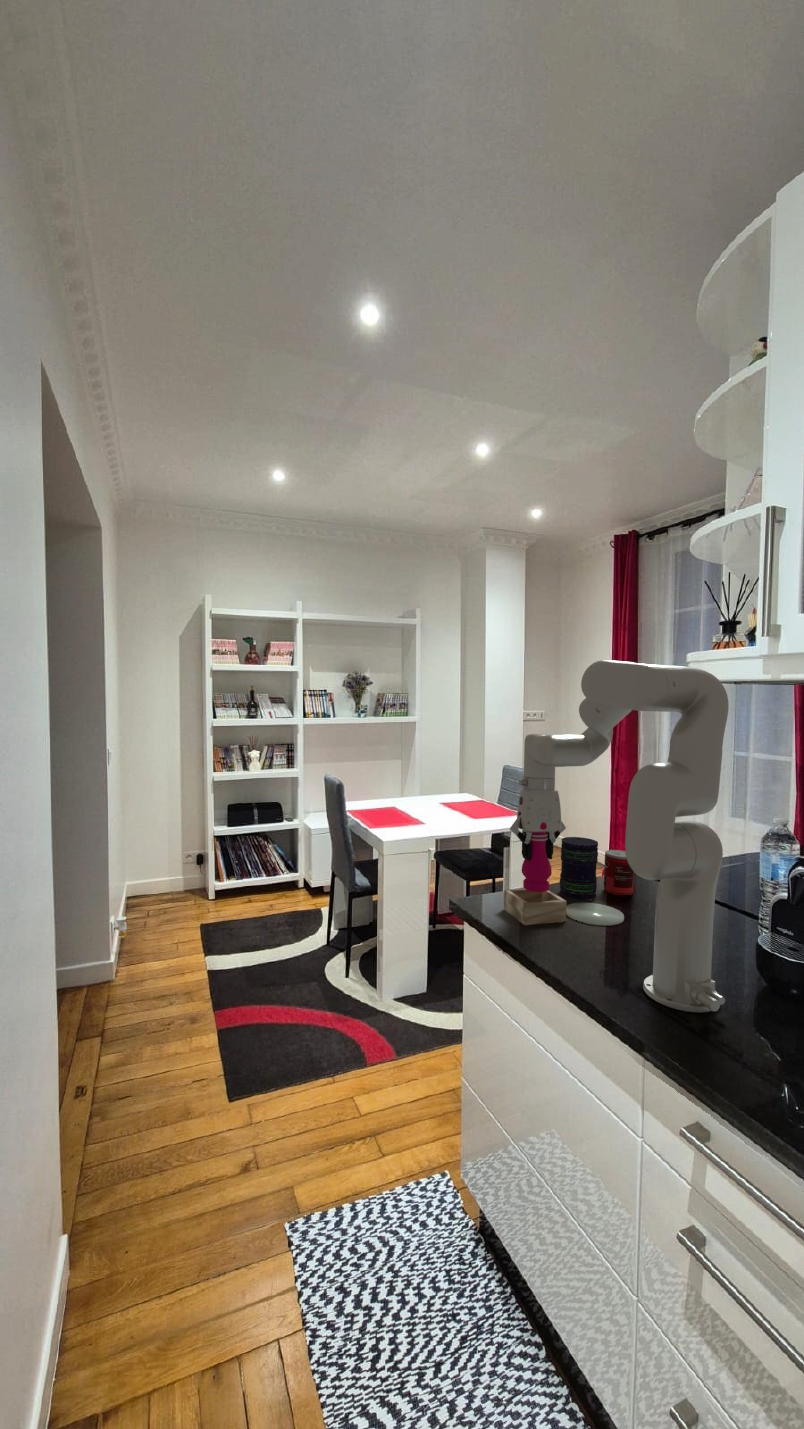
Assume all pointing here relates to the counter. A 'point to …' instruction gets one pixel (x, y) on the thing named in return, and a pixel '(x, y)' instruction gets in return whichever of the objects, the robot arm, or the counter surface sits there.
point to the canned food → (618, 873)
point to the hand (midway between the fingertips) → (537, 857)
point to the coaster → (594, 914)
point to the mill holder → (534, 906)
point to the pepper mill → (537, 864)
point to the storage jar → (578, 868)
